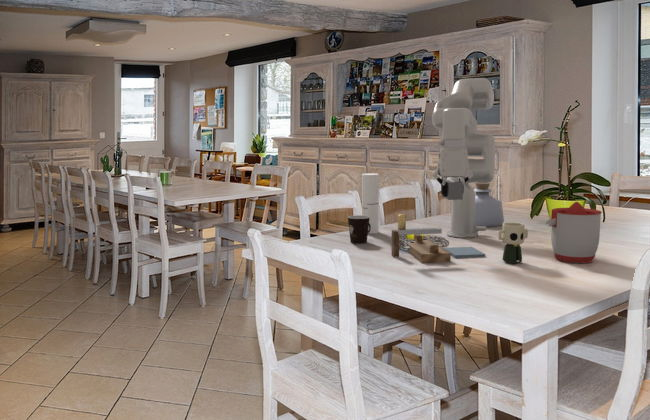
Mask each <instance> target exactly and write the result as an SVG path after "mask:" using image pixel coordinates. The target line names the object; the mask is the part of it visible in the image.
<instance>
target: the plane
mask: <svg viewBox="0 0 650 420" xmlns="http://www.w3.org/2000/svg"><path fill="white" fill-rule="evenodd" d="M413 240H414V241H416V243H407V244H408V246H409V247H410V249H409V250H408V251H406V252H407V253H408V254H409V255H410V256H412V257H413V258H414V259H416V260H417V261H419V263H421V264H433V263H437V264H438V263H450V262H451V259H452V256H451V253H449V252H448V251H446V250H445V249H443V248H444V247H441V246H440V245H439V244H437V243H435V242H433V241H431V240H430V239H423V234H413ZM422 240H423V241H422ZM391 257H393V258H399V257H400V235H399V234H398V229H391Z"/></svg>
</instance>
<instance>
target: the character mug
mask: <svg viewBox="0 0 650 420" xmlns="http://www.w3.org/2000/svg"><path fill="white" fill-rule="evenodd" d="M501 227H502V229H500V230H498V235H497V237H498V240H499V241H501V242H502V243H504V244H505V246H504V247H503V253H502V261H504V262H505V263H509V264H510V263H512V264H516V263H517V262H518V263H522V262H523V256H522V255H523V254H522V253H523V252H522V247H521V245H522V244H523V243H524V241H525V239H527V238H528V237H529V233H528V232H529V230H528V228H526V227H525V223H519V222H503V223H502V226H501Z"/></svg>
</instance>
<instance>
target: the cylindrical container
mask: <svg viewBox="0 0 650 420" xmlns="http://www.w3.org/2000/svg"><path fill="white" fill-rule="evenodd" d="M379 182H380V174H379V173H372V172H371V173H362V174H361V215H362V216H369V217H370V219H369V224H370V226H371V229H370V232H369V233H368V235H371V234H372V235H374V234H379V232H380V231H379V228H380V227H379V217H380V216H379V214H380V213H379V212H380V211H379V210H380V205H379V203H380V200H379V198H380V195H379V194H380V193H379V191H380V183H379ZM368 230H369V227H368Z"/></svg>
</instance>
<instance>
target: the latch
mask: <svg viewBox="0 0 650 420" xmlns="http://www.w3.org/2000/svg"><path fill="white" fill-rule="evenodd" d="M406 221H407V215H406V214H404V213H401V214H400V213H399V214H397V230H398V234H399V236H404V235H405V236H407V235H411V236H412V235H414V234H420V235H435V234H436V235H437V234H439V235H440V234H442V233H443V232H442V230H443V229H442V228H441V227H425V228H424V227H419V228H413V227H412V228H406V223H407V222H406Z"/></svg>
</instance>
